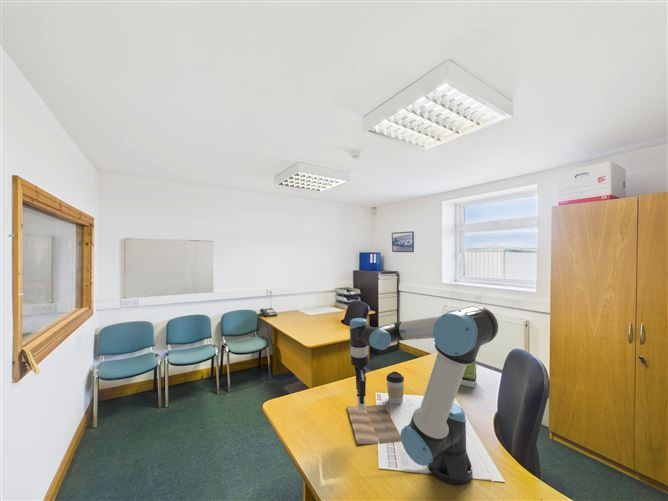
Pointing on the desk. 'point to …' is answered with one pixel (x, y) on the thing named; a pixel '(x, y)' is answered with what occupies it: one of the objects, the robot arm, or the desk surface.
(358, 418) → the plank far
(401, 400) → the coffee cup
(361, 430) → the plank near
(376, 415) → the laid board
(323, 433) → the desk surface
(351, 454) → the desk surface
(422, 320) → the robot arm
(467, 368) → the tea box
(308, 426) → the desk surface
